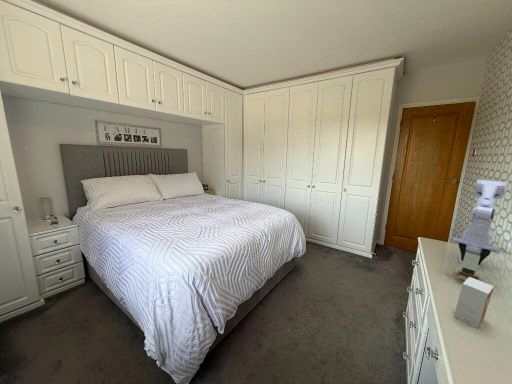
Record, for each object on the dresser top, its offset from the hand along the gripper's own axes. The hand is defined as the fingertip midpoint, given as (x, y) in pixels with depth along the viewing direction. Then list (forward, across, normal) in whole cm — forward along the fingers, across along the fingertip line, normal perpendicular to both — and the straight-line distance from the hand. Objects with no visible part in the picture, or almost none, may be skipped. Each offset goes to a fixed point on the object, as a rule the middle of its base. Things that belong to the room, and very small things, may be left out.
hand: (469, 262), depth 95 cm
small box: (+9, +1, -31) cm, 32 cm away
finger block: (+2, 0, 0) cm, 2 cm away
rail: (+9, +1, +3) cm, 9 cm away
